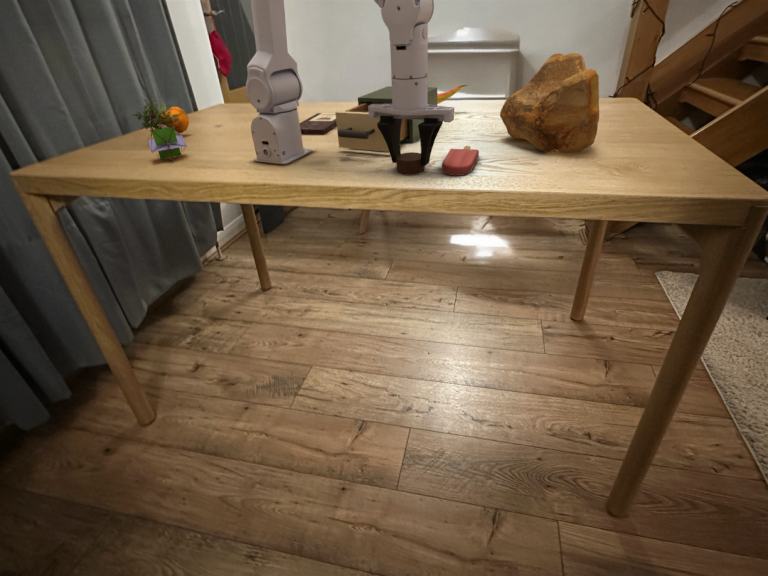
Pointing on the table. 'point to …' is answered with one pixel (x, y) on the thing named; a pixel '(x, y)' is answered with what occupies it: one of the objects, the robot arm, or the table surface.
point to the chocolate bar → (318, 123)
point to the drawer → (363, 129)
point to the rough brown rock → (556, 106)
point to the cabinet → (386, 97)
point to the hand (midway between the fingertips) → (410, 162)
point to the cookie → (409, 164)
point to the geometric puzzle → (166, 142)
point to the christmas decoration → (164, 117)
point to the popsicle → (460, 161)
